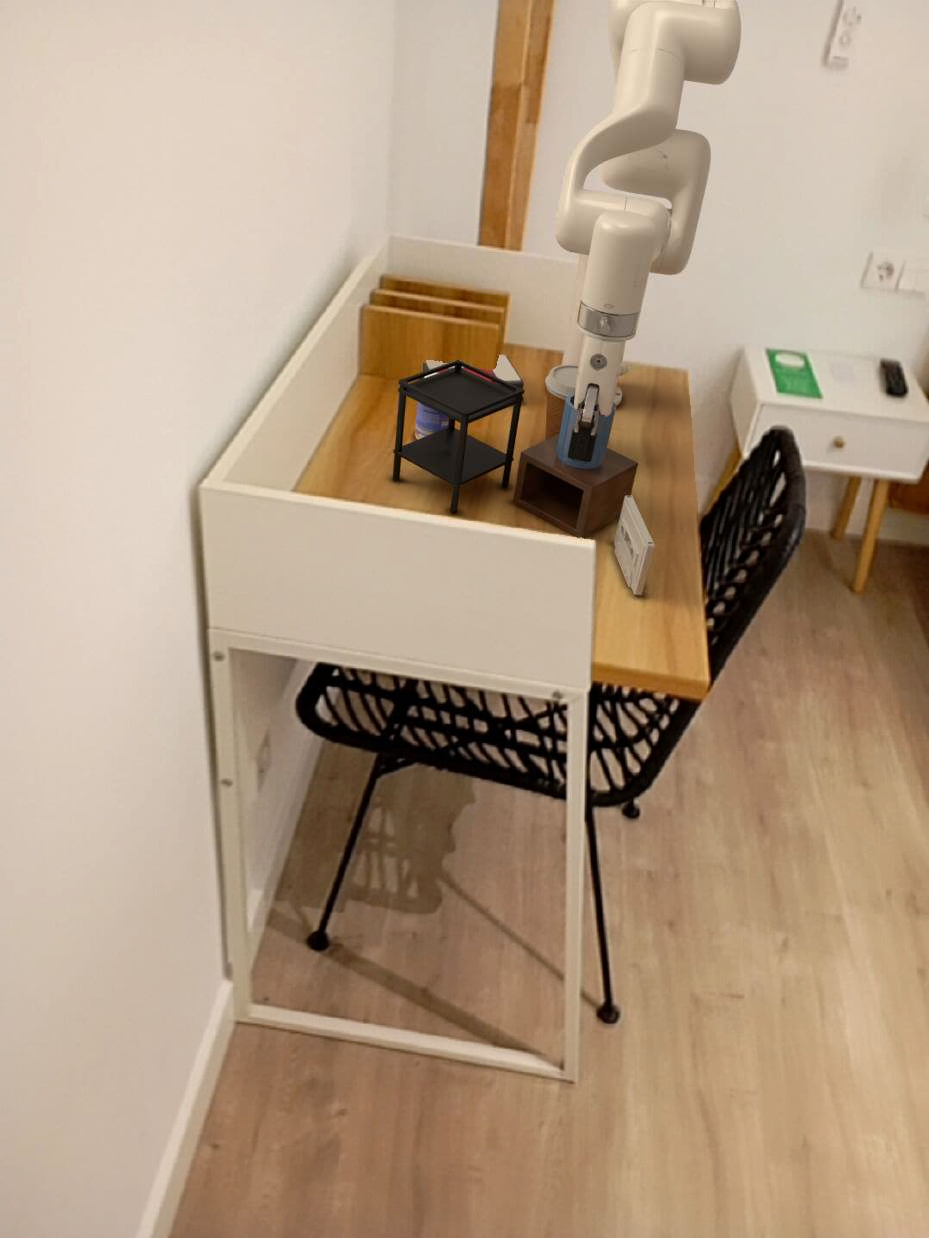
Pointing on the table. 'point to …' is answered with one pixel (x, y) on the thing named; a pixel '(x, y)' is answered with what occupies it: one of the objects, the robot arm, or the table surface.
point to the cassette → (633, 546)
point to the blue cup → (569, 424)
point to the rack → (450, 447)
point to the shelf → (573, 488)
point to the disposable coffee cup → (558, 395)
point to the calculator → (488, 371)
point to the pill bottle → (429, 420)
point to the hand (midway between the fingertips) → (582, 445)
